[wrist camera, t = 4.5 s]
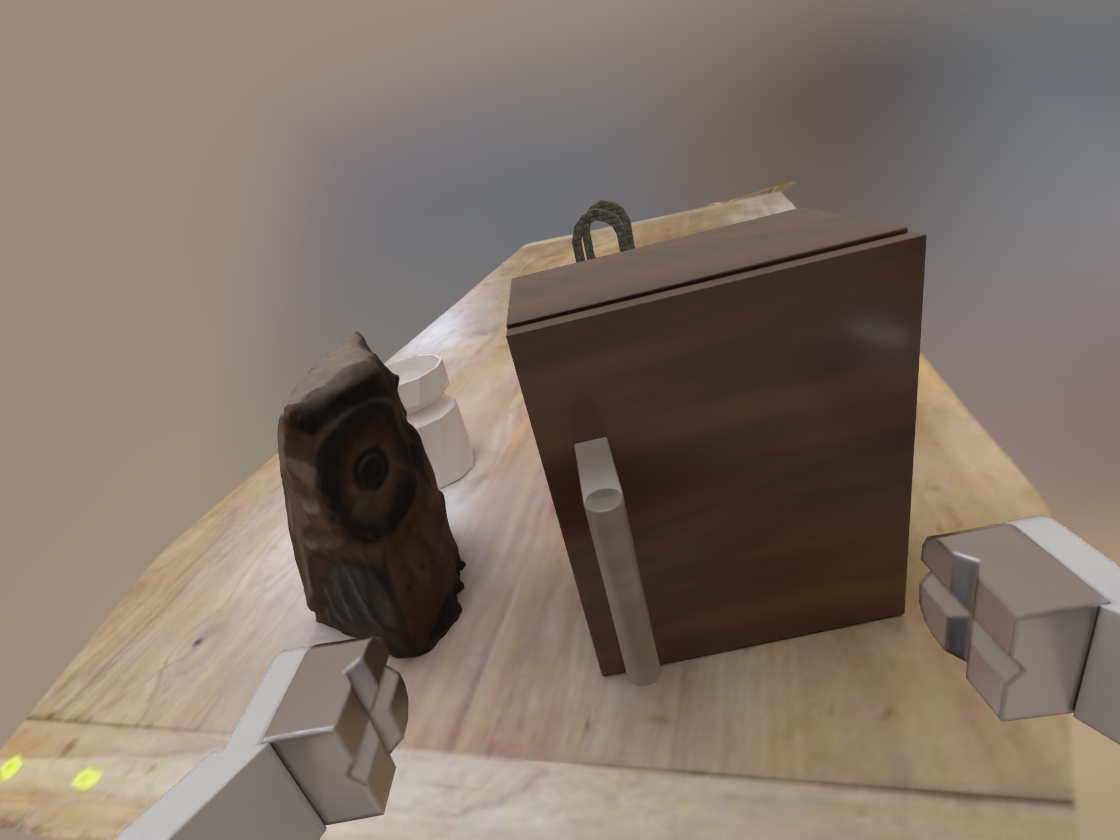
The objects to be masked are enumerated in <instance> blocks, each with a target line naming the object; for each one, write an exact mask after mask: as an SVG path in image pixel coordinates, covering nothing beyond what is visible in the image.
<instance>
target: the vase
mask: <svg viewBox="0 0 1120 840" xmlns="http://www.w3.org/2000/svg"><path fill="white" fill-rule="evenodd" d="M385 366H386V367H388V369H389V370H390V371H391V372H392V373H393V374H396V375H399V385H398V394H399V396H400V399H401V402H402V404H403V406H404V408H405V409H406V411H407V416H406V418H407V421H408V422H409V423H410V424H411V425H413V426H414V427H415V429H416V430H417V431H418V433H419V435H420V437H421V439H422V443H423V446H424V449H425V452H426V454H427V456H428V458H429V461H430V463H431V465H432V468H433V471H434V474H435V478H436V482H437V486H438V489H441V488H443V487H445V486H447V485H449V484H451V483H453V482H455V481H457V480H459V479H461V478H462V477H463V476H464V475H465V474H466V473H467V472H468V471H469V470H470V469H471V468H472V467H473V466H474V454H473V449H472V447H471V445H470V442H469V440H468V436H467V432H466V429H465V425H464V422H463V419H462V416H461V413H460V410H459V407H458V404H457V402H456V399H455V397H452V396H450V395H447V394H445V393H444V391H445V390H446V388H447V386H448V385H449V380H448V376H447V373H446V369H445V366H444V363H443V360H442V358H441V357H439V356H437V355H435V354H428V355H415V356H411V357H408V358H404V359H400V360H397V361H393V362H391V363H389V364H386V365H385Z"/></svg>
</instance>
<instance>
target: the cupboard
mask: <svg viewBox="0 0 1120 840" xmlns="http://www.w3.org/2000/svg"><path fill="white" fill-rule="evenodd" d="M905 233H908V229H907V228H906V227H901V226H896V225H891V224H886V223H881V222H876V221H872V220H867V219H861V218H857V217H852V216H846V215H842V214H836V213H832V212H827V211H822V210H816V209H812V208H807V207H802V208H798V209H794V210H790V211H786V212H782V213H778V214H774V215H770V216H765V217H761V218H757V219H753V220H749V221H745V222H741V223H737V224H733V225H729V226H725V227H721V228H717V229H712V230H708V231H704V232H700V233H696V234H692V235H688V236H684V237H680V238H676V239H672V240H668V241H664V242H659V243H655V244H651V245H647V246H643V247H639V248H635V249H631V250H627V251H623V252H619V253H615V254H611V255H607V256H602V257H598V258H594V259H590V260H586V261H582V262H578V263H574V264H570V265H566V266H562V267H558V268H554V269H549V270H545V271H541V272H537V273H533V274H529V275H525V276H521V277H517V278H513V279H512V281H511V290H510V299H509V308H508V317H507V329H511V328H515V327H519V326H523V325H527V324H531V323H536V322H540V321H544V320H548V319H552V318H556V317H560V316H565V315H569V314H573V313H577V312H581V311H585V310H589V309H594V308H598V307H602V306H606V305H610V304H614V303H619V302H623V301H627V300H631V299H635V298H639V297H643V296H648V295H652V294H656V293H660V292H664V291H668V290H673V289H677V288H681V287H685V286H689V285H693V284H697V283H702V282H706V281H710V280H714V279H718V278H722V277H726V276H731V275H735V274H739V273H743V272H747V271H751V270H756V269H760V268H764V267H768V266H772V265H776V264H780V263H785V262H789V261H793V260H797V259H801V258H805V257H809V256H814V255H818V254H822V253H826V252H830V251H834V250H839V249H843V248H847V247H851V246H855V245H859V244H863V243H868V242H872V241H876V240H880V239H884V238H888V237H892V236H897V235H901V234H905Z"/></svg>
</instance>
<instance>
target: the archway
mask: <svg viewBox="0 0 1120 840" xmlns="http://www.w3.org/2000/svg"><path fill="white" fill-rule="evenodd" d="M611 212H612V213H611ZM614 214H615V215H614ZM616 215H617V216H618V217H619V219H620V220H621V222H622V224H623V225H622V224H621V222H620V220H619V219H618V217H617V216H616ZM595 220H597V221H602V222H606V223H608V224H609V225H611V226H612V227H613V229H614V230H615V232H616V234H617V237H618V242H619V248H620V252H623V251H627V250H631V249H635V247H634V240H633V234H632V228H631V222H630V219H629V217H628V215H627V214H626V212H625V210H624V209H623V207H621V206H620V205H618V204H617V203H615V202H611V201H605V200H600V201H599V202H598V203H596V204H595V205H593V206H592V207H590V209H589V210H588V212H587V213H586V214H584V215H583V216H582V217H581V218H580V220H579V221H578V222H577V224H576V225H575V227H574V233H573V240H572V244H573V249H574V254H575V258H576V263H578V262H582V261H585V258H584V253H583V248H582V242H581V239H582V237H583V242H584V246H585V251H586V256H587V260H590V259H594V258H596V257H595V256H594V251H593V245H592V240H591V235H590V225H591V223H592V222H593V221H595Z"/></svg>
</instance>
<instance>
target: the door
mask: <svg viewBox="0 0 1120 840" xmlns="http://www.w3.org/2000/svg"><path fill="white" fill-rule="evenodd" d="M925 253H926V235H924V234H920V233H915V232H909V233H905V234H901V235H897V236H892V237H888V238H884V239H880V240H876V241H872V242H868V243H863V244H859V245H855V246H851V247H847V248H843V249H839V250H834V251H830V252H826V253H822V254H818V255H814V256H809V257H805V258H801V259H797V260H793V261H789V262H785V263H780V264H776V265H772V266H768V267H764V268H760V269H756V270H751V271H747V272H743V273H739V274H735V275H731V276H726V277H722V278H718V279H714V280H710V281H706V282H702V283H697V284H693V285H689V286H685V287H681V288H677V289H673V290H668V291H664V292H660V293H656V294H652V295H648V296H643V297H639V298H635V299H631V300H627V301H623V302H619V303H614V304H610V305H606V306H602V307H598V308H594V309H589V310H585V311H581V312H577V313H573V314H569V315H565V316H560V317H556V318H552V319H548V320H544V321H540V322H536V323H531V324H527V325H523V326H519V327H515V328H511V329H507V335H506V337H507V341H508V344H509V348H510V351H511V355H512V358H513V362H514V365H515V369H516V372H517V376H518V380H519V383H520V387H521V390H522V394H523V397H524V401H525V404H526V408H527V411H528V415H529V418H530V422H531V425H532V429H533V432H534V436H535V440H536V443H537V447H538V450H539V454H540V457H541V461H542V464H543V468H544V471H545V475H546V478H547V482H548V485H549V489H550V493H551V496H552V500H553V503H554V507H555V510H556V514H557V517H558V521H559V524H560V528H561V531H562V535H563V538H564V542H565V545H566V549H567V553H568V556H569V560H570V563H571V567H572V570H573V574H574V577H575V581H576V584H577V588H578V591H579V595H580V598H581V602H582V605H583V609H584V613H585V616H586V620H587V623H588V627H589V630H590V634H591V637H592V641H593V644H594V648H595V651H596V655H597V658H598V662H599V666H600V669H601V673H602V676H605V675H610V674H615V673H620V672H624V671H626V673H627V676H628V678H629V679H630V681H632V682H633V683H634V684H636V685H640V686H646V685H650V684H652V683H654V682H655V681H656V680H657V679H658V677H659V675H660V672H661V668H660V664H663V663H668V662H673V661H677V660H682V659H687V658H692V657H697V656H701V655H706V654H711V653H716V652H721V651H725V650H730V649H735V648H740V647H745V646H749V645H754V644H759V643H764V642H769V641H774V640H778V639H783V638H788V637H793V636H798V635H802V634H807V633H812V632H817V631H822V630H826V629H831V628H836V627H841V626H846V625H851V624H855V623H860V622H865V621H870V620H875V619H879V618H884V617H889V616H894V615H899V614H903V613H904V609H905V592H906V575H907V558H908V541H909V524H910V507H911V490H912V473H913V456H914V439H915V422H916V405H917V388H918V371H919V355H920V337H921V320H922V304H923V286H924V270H925Z"/></svg>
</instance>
